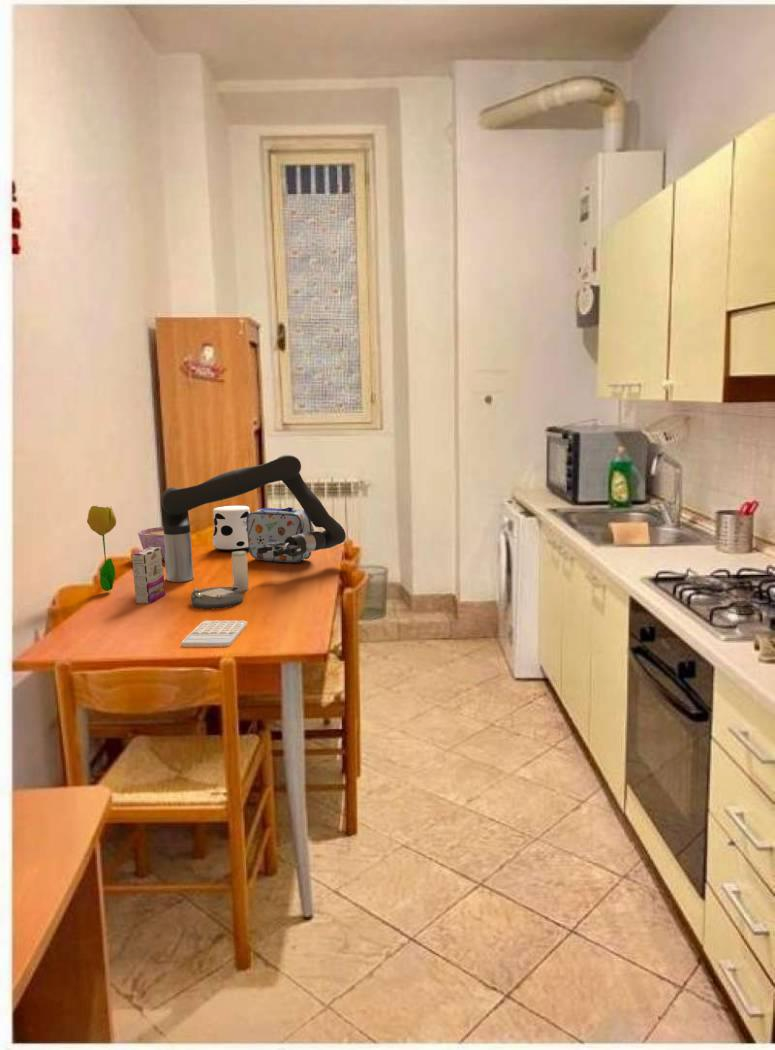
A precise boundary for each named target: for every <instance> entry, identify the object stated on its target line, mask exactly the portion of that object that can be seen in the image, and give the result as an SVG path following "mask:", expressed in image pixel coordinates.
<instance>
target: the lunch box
mask: <svg viewBox="0 0 775 1050" xmlns="http://www.w3.org/2000/svg"><path fill="white" fill-rule="evenodd" d="M246 524H247V534H248V546H249V548H248V553H249V555H250V556H251V557H252V558H253V559H256V560H260V561H266V562H272V561H273V562H274V563H290V564H291V563H292V564H293V563H300V562H301V560H302V561H304V559H305V560H307V559H309V558H310V557H311V556H312V552H310V553H307V554H303V555H299V556H295V557H292V556H288V555H285V556H284V555H281V556H277V557H274V556H273V553H272V552H268V553H263V554H258V552H257V549H258V548H260V547H263V545H264V544H269V543H274V542H277V543H280V542H285V540H286V538H287V537H289V536H293V535H298V534H303V533H310V532H315V529H314V528H315V527H314V525H313V523H312V522H311V520H310V519H309V517H308V516H307V514H306V513H305V511H304V510H302V509H294V507H293V506H292V507H290V506H289V507H286V508H285V507H284V508H276V507H275V508H273V507H264V508H263V507H262V508H259V509H257V510H254V511H252V512H251V511H250V513H249V514H248V516H247V519H246Z"/></svg>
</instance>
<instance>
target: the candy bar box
mask: <svg viewBox="0 0 775 1050" xmlns="http://www.w3.org/2000/svg"><path fill="white" fill-rule="evenodd" d="M130 556H131V562H132V573H133V574H132V575H133V583H134V593H135V594H134V595H135V603H136V604H139V605H141V603H142V604H145V605H146V604H147V605H149V604H152V603H153V602H156V601H157V600H159V599H160V597H161V598H162V597H164V596H165V595H166V587H165V578H164V576H165V575H164V574H165V573H164V566H163V560H162V552H161V547H148V548H146V549H143V548H142V549H141V550H139V551H137V552H134V553H132V554H131V555H130Z"/></svg>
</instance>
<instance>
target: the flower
mask: <svg viewBox="0 0 775 1050" xmlns="http://www.w3.org/2000/svg"><path fill="white" fill-rule="evenodd" d="M87 514H88V515H87V521H86V522H87V524H88V526H89V528H90V530H91V531H93V532H95V533H96V534H97V535H99V536H102V545H103V555H104V564H102V566H101V568H100V570H99V583H100V586H101V588H102V589H101V590H104V591H105V592H107V591H108V592H109V591H110V590H113V587H114V582H115V578H116V569H115V565H114V563H113V559H112V558H108V559H107V556H106V543H105V535H106V534H108V533H110V532H111V531H112V530H113V529H114V528H115V527H116V525H117V518H116V515H115V512H114V510H113V508H112V506H110V507H109V506H106V507H104V506H97V505H93V506H91V507H90V508H89V510H88V513H87Z"/></svg>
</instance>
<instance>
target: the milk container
mask: <svg viewBox="0 0 775 1050" xmlns="http://www.w3.org/2000/svg"><path fill="white" fill-rule="evenodd" d="M250 510H251V509H250V507H249V506H247V505H227V506H219V507H215V508H213V514H212V516H213V519H212V520H213V534H212V544H213V548H214V549H216V550H218V551H220V552H221V551H223V552H236V551H246V550H247V549H248V550H249V546H248V534H247V524H246V519H247V516H248V514H249V513H251V511H250Z"/></svg>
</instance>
